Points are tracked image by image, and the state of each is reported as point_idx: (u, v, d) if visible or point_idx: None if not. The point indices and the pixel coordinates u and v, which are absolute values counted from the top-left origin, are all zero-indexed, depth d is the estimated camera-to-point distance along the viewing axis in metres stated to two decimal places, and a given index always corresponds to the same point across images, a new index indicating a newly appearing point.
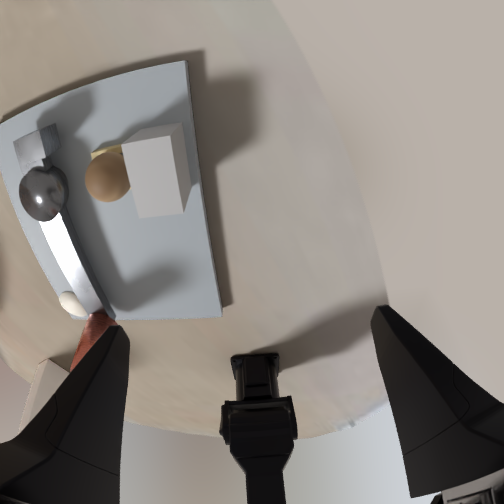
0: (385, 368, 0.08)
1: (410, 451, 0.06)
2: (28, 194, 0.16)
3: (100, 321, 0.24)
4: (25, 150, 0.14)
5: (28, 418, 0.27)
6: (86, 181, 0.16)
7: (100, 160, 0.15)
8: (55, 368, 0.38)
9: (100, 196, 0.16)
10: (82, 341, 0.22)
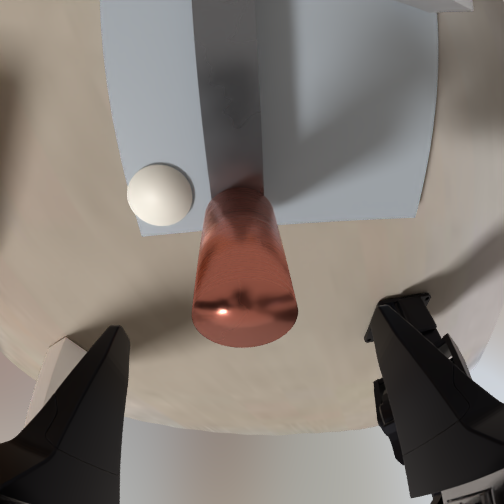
0: (385, 368, 0.08)
1: (410, 451, 0.06)
2: None
3: (253, 198, 0.13)
4: None
5: None
6: None
7: None
8: (77, 352, 0.27)
9: None
10: (222, 229, 0.11)
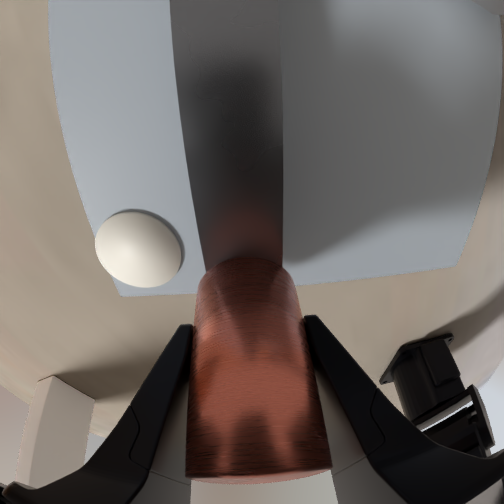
0: None
1: (335, 473, 0.06)
2: None
3: (269, 279, 0.09)
4: None
5: (28, 478, 0.12)
6: None
7: None
8: (66, 391, 0.22)
9: None
10: (223, 353, 0.07)
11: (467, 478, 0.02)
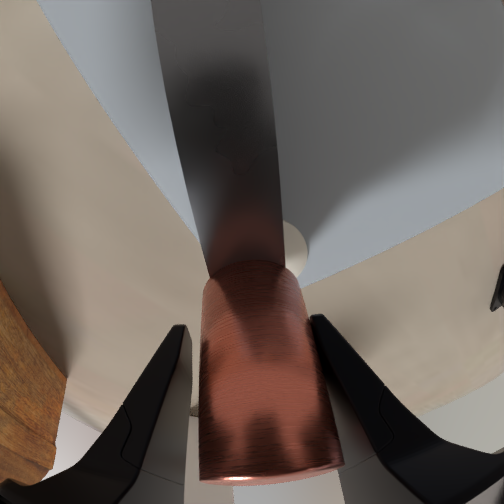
0: None
1: (342, 471, 0.06)
2: None
3: (272, 281, 0.09)
4: None
5: None
6: None
7: None
8: None
9: None
10: (231, 357, 0.07)
11: (475, 473, 0.02)
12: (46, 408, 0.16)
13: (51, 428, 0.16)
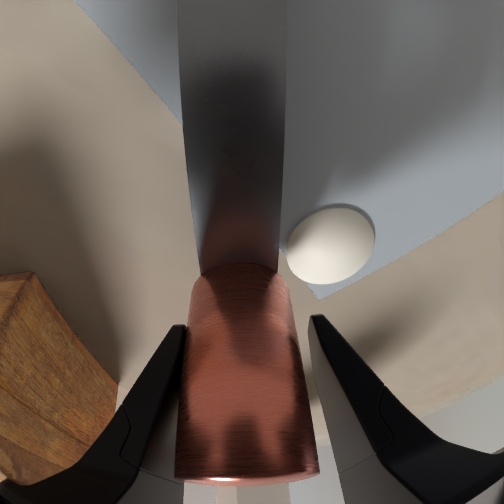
0: (318, 381, 0.08)
1: (342, 471, 0.06)
2: None
3: (263, 285, 0.09)
4: None
5: None
6: None
7: None
8: None
9: None
10: (216, 357, 0.07)
11: (475, 473, 0.02)
12: (98, 418, 0.17)
13: None
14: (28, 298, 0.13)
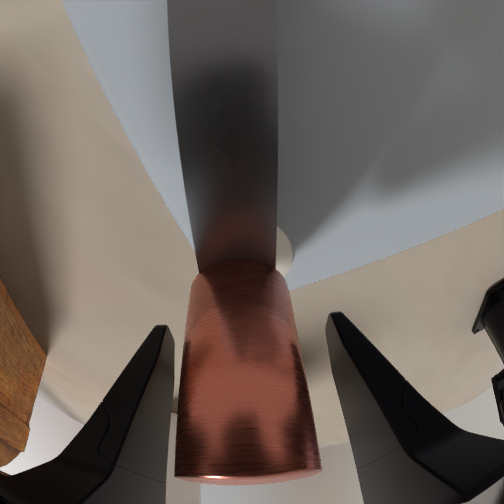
0: (337, 378, 0.08)
1: (362, 466, 0.06)
2: None
3: (261, 281, 0.09)
4: None
5: None
6: None
7: None
8: None
9: None
10: (214, 354, 0.06)
11: (497, 458, 0.02)
12: (21, 384, 0.14)
13: (25, 406, 0.14)
14: None
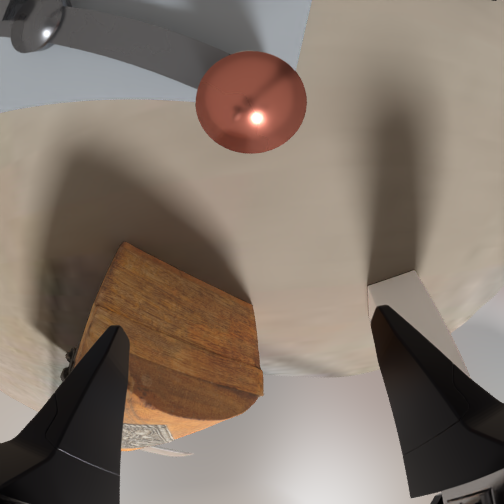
0: (385, 368, 0.08)
1: (409, 450, 0.06)
2: (23, 34, 0.08)
3: None
4: None
5: None
6: None
7: None
8: (387, 285, 0.27)
9: None
10: None
11: None
12: (233, 332, 0.24)
13: (248, 351, 0.24)
14: (125, 255, 0.22)
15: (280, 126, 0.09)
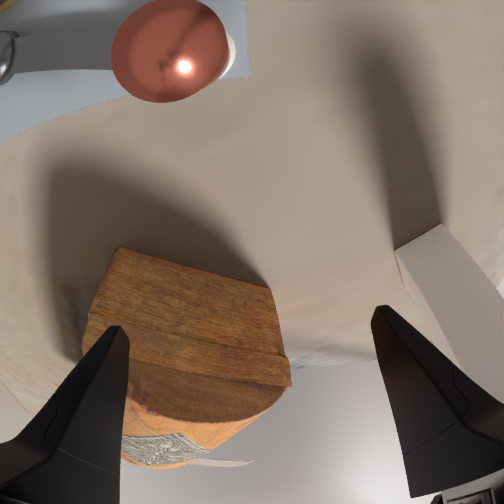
0: (385, 368, 0.08)
1: (410, 451, 0.06)
2: None
3: None
4: None
5: (457, 362, 0.15)
6: None
7: None
8: (415, 245, 0.23)
9: None
10: None
11: None
12: (249, 320, 0.22)
13: (268, 338, 0.21)
14: (120, 260, 0.21)
15: (203, 61, 0.07)
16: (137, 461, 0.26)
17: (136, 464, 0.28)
